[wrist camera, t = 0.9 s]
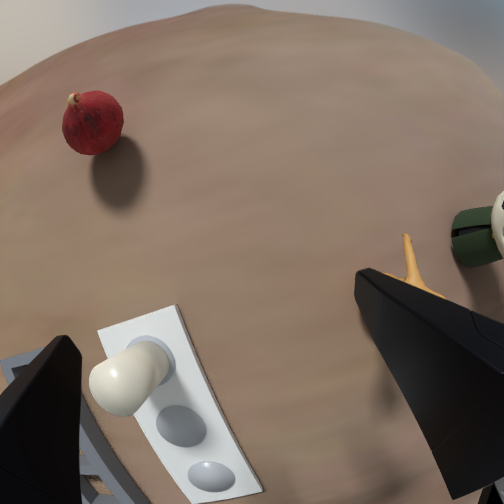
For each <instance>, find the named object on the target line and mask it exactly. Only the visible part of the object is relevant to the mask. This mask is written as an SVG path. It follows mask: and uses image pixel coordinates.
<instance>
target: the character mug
mask: <svg viewBox="0 0 504 504" xmlns="http://www.w3.org/2000/svg"><path fill="white" fill-rule="evenodd" d="M457 228H460V229H459V236H457V237H453V238H452V244H453V248H454V251H455V254H456V256H457V257H458V259H459V260H460V262H461V263H462V264H464V265H466V266H468V267H470V268H472V267H478V266H482V265H486V264H489V263H492V262H495V261H498V260H501V259H504V191H503V192H502V193H501V194H500V195H499V196H497V199H496V201H495V203H494V206H488V207H481V208H473V209H469V210H464V211H461V212H460V213H459V214H458V215H456V216H455V218H454V221H453V224H452V229H457Z"/></svg>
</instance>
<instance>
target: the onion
mask: <svg viewBox="0 0 504 504" xmlns="http://www.w3.org/2000/svg"><path fill="white" fill-rule="evenodd" d="M67 101H68V108H67V109H66V111H65V113H64V116H63V123H62V131H63V134H64V137H65V139H66V142H67V143H68V145H69V146H70V147H71V148H72V149H74V150H75V151H76V152H78V153H80V154H85V155H96V154H99V153H103V152H105V151H107V150H108V149H109V148H110V147H112V146H113V145H114V144H115V143H116V141H117V140H118V138H119V137H120V134H121V130H122V127H123V123H124V119H123V111H122V107H121V106H120V105H119V103H118V102H117V101H116V99H115V98H114V97H113V96H111V95H109V94H107V93H105V92H102V91H91V92H86V93H83V94H81V95H79V93H78V92H74V93H72V94H70V96H69V98H68V100H67Z"/></svg>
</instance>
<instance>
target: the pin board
mask: <svg viewBox="0 0 504 504" xmlns="http://www.w3.org/2000/svg"><path fill="white" fill-rule="evenodd" d="M44 348H45V347H43V348H40V349H37V350H33V351H30V352H27V353H23V354H20V355H17V356H13V357H10V358H6V359H3V360H0V365H1V367H2V370H3V373H4V376H5V378H6V381H7V383H8V386H9V385H10V384H11V382H12V381H13V380H14V379H15V378H16V377H17V376H18V375H19V374H20V373H21V372H22V371H23V369H24V368H25V367H26V366H25V365H26V364H29V363H30V362H31V361H32V360H33V359H34V358H35V357H36V356H37V355H38V354H39V353H40V352H41V351H42V350H43V349H44ZM79 447H80V449H81V450H82V452H83V453H84V455H79V456H80V482H81V495H82V504H149V502H150V501H149V500H148V499H147V498H146V496H145V495H144V494H143V493H142V491H141V490H140V489H139V487H138V486H137V485H136V483H135V482H134V481H133V479H132V478H131V477H130V475H129V474H128V473H127V471H126V470H125V468H124V467H123V465H122V464H121V462H120V461H119V459H118V458H117V456H116V455H115V453H114V452H113V450H112V449H111V447H110V445H109V444H108V442H107V440H106V439H105V437H104V435H103V434H102V432H101V430H100V428H99V427H98V425H97V423H96V421H95V419H94V417H93V415H92V414H91V412H90V410H89V408H88V406H87V404H86V402H85V400H84V398H83V395H82V393H81V413H80V440H79ZM83 474H84V475H99V477H100V478H101V479H102V481H103V482H104V483H105V485H106V486H107V487H108V489H109V490H110V491H111V492H112V494H113V495H102V494H98V493H97V492H96V491H95V489H94V488H93V487H92V485H91V484H90V483H89V482H88V480H87V479H86V477H85V476H84V475H83Z"/></svg>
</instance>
